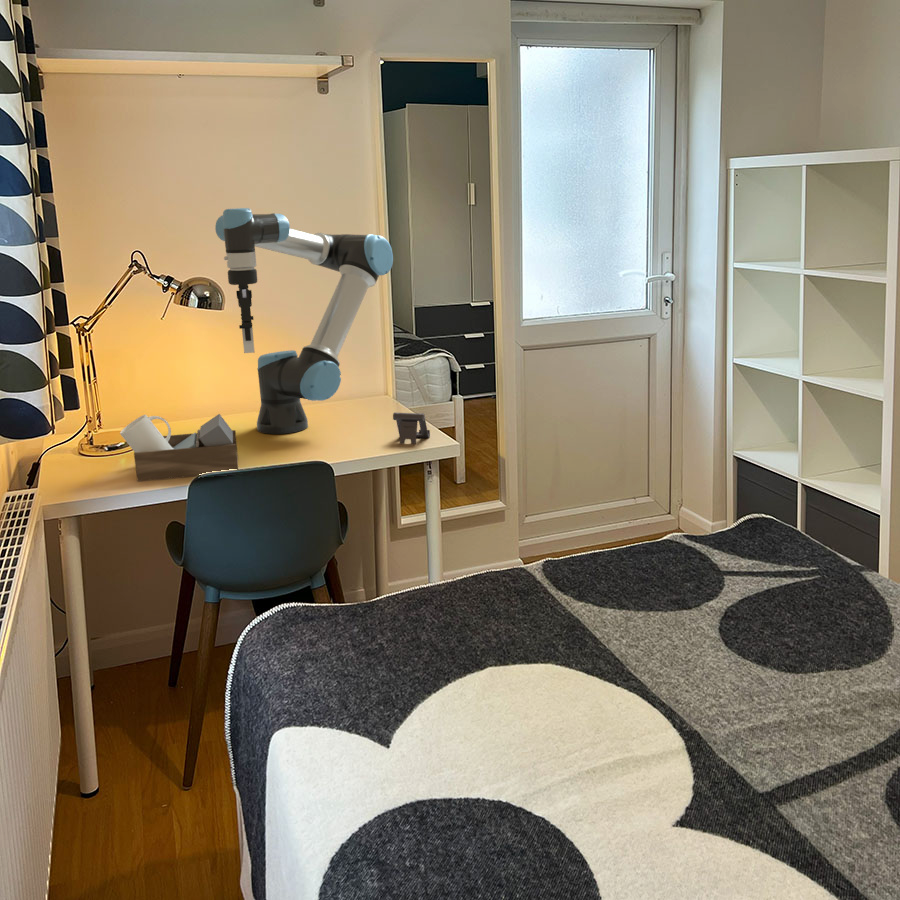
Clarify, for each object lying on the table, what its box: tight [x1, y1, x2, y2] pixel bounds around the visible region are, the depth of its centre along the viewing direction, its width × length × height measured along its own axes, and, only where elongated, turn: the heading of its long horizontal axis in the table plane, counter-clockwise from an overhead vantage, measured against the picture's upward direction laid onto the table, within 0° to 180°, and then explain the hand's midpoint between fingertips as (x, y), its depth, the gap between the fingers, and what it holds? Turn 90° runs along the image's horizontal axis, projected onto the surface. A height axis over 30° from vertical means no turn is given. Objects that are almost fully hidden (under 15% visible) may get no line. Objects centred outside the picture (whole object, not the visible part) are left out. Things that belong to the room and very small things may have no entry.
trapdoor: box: [173, 413, 233, 449], centre depth 258 cm, size 22×13×6 cm
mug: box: [119, 414, 174, 453], centre depth 255 cm, size 12×8×12 cm
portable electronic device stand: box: [392, 412, 431, 445], centre depth 278 cm, size 9×8×8 cm
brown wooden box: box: [133, 429, 239, 482], centre depth 258 cm, size 16×25×8 cm, turn 102°
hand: (248, 348), depth 265 cm, fingers open, 13 cm apart
